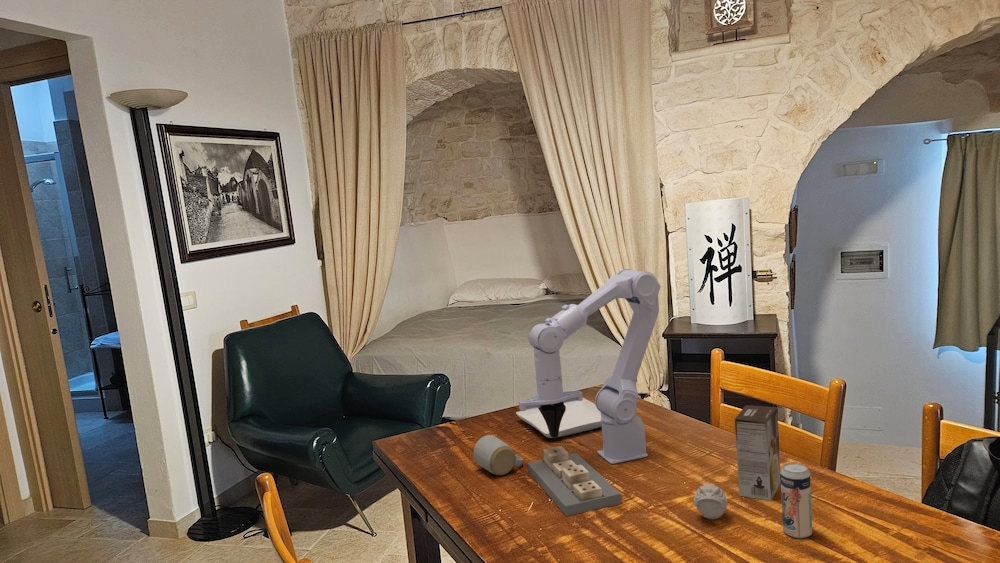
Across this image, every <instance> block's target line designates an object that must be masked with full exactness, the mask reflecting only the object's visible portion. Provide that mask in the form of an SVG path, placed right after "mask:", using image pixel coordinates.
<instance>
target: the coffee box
mask: <svg viewBox="0 0 1000 563" xmlns="http://www.w3.org/2000/svg"><path fill="white" fill-rule="evenodd" d="M778 412H779V411H778V407H776V406H763V405H751V404H749V405H745V406H743V408H742V409H741V411H740V412H739V413H738V414H737V416H736V417H735V418H734V427H735V428H734V429H735V443H736V444H735V446H736V462H737V466H736V467H737V477H738V478H737V479H738V480H737V481H738V482H737V483H738V496H740V497H744V498H750V499H751V498H752V499H759V500H764V501H770V502H771V501H772V500H773V498H775V495H776V493H777V491H778V488H779V487H780V486H781V478H780V471H781V458H780V457H781V456H780V438H779V435H780V433H779V418H778V416H779V414H778Z"/></svg>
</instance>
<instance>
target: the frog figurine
mask: <svg viewBox="0 0 1000 563" xmlns="http://www.w3.org/2000/svg"><path fill="white" fill-rule="evenodd" d="M728 501H729V500H728V499H727V497H726V494H725V492H724V490H723V489H722V488H721V487H719V486H717V485H716V484H714V483H708V482H706V483H704V484H703V485H702V486H699V488H697V489H696V492H695V494H694V497H693V504H694V505H695V506H696V509H697V511H698V512H699V514H701V516H702V517H704V518H706V519H708V520H716V519H719V518H720V517H722V516H723V514H724V512H725V511H726V508H727V506H728V505H729V504H728V503H729V502H728Z"/></svg>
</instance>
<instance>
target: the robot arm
mask: <svg viewBox="0 0 1000 563" xmlns="http://www.w3.org/2000/svg"><path fill="white" fill-rule="evenodd" d="M660 290H661V284H660V283H659V281H658V280H657V278H656V276H655V274H653V273H652V272H651V271H642V270H641V271H640V270H634V269H633V270H632V269H630V268H624V269H621V270H619V271H617V274H616V273H615V274H613V275H611V276H610V277H609V279H608V280H607V281H606V282H605V283H603V284H602V285H601V286H600V287H599V288H597V289H596V290H595V291H593V293H591V294H590V295H588V296H587V298H585V299H583V300H582V301H581V302H580V303H579V304H575V303H570V304H564V305H562V306H561V309H562V310H560V311H559V312H557V313H556V314H554V315H553V316H552V317H547V318H546V319H545V322H544V323H538V324H536V325H535V326H533V327H532V329H531V331H530V332H529V337H527V340H528V343H529V344H530V345H531V346H532V348H533V353H534V357H533V358H534V366H535V367H534V368H535V370H534V371H535V379H536V390H537V395H535V396H532V397H529V398H525V399H521V400H518V407H519V411H526V410H528V409H533V408H538V409H539V410H540V412H541V414H542V416H543V418H544V420H545V422H546V424H547V427H548V430H549V434H550V436H551V437H552V438H551V439H555V438H554V437H558V434H559V428H560V423H561V420H562V417H563V415H564V413H565V411H566V406H565V405H564V403H566V402H572V401H577V400H578V401H583V398H584V397H583V392H582V391H581V390H578V389H577V390H570V391H564V388H563V378H562V377H563V376H562V367H561V366H562V365H561V355H560V349H561V348H562V346H563V344H564V341H566V340H567V339H568V338H569V337H571V336H572V335H573V334H575V333H576V332H577V331H578V330H580V329H582V328H583V327H584V326H586V324H587V321H588V317H590V316H591V315H592V314H594V313H595V312H597V311H599V310H600V309H601V308H603V307H605V306H607V305H608V304H609V303H611V302H613V301H614V300H615V299H625V301H627V303H628V305H629V307H630V309H631V310H632V313H633V314H632V316H631V319H630V322H629V325H628V328H627V331H626V334H625V337H624V340H623V342H622V345H621V350H620V352H619V354H618V358H617V360H616V363H615V367H614V369H613V372H612V375H611V376H609V377H608V378H606V380H604V382H603V384H602V387H601V388H600V389H599V390H598V392H597V393H596V395H595V399H594V404H595V405H596V407H597V409H598V410H599V411H600V412H601V424H602V427H601V434H602V446H603V447H602V448H603V449H600V450H597V452H596V453H597V454H598V455H599V456H601V457H602V458H603V459H604V460H605V461H607V462H608V463H609V464H610V465H614V464H619V463H623V462H630V461H633V460H637V459H642V458H643V459H644V458H647V457H648V456H649V454H648V453H647V445H646V431H645V424H644V423H643V420H642V418H641V417H640V416H639V415H636V414H637V412H638V405H637V404H638V403H637V401H638V397H639V392H638V389H637V387H636V380H637V378H638V376H639V372H640V369H641V367H642V363H643V360H644V357H645V354H646V351H647V348H648V346H649V343H650V340H651V337H652V335H653V331H654V328H655V325H656V322H657V319H658V315H659V312H660V306H659V303H660V302H659V293H660ZM558 438H559V437H558Z"/></svg>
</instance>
